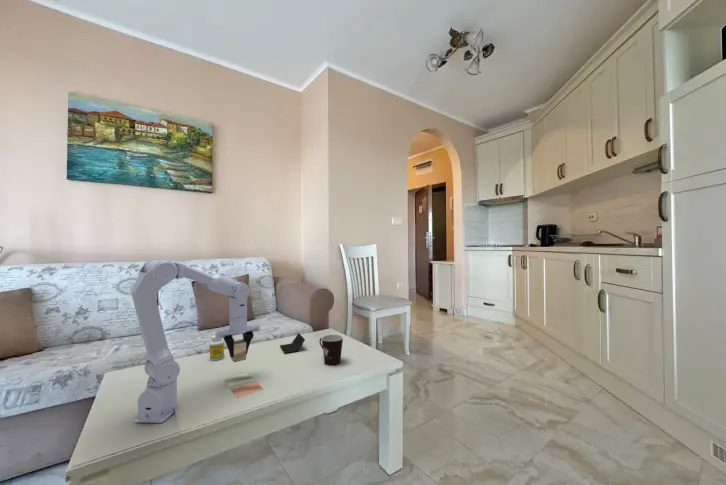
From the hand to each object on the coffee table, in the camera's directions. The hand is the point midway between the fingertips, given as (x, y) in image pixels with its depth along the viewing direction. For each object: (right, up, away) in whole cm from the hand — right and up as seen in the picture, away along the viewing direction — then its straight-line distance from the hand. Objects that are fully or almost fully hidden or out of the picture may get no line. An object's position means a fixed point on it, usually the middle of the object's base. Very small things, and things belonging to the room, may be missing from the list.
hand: (238, 355), depth 105 cm
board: (+3, -10, -4) cm, 11 cm away
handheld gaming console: (+11, -10, +33) cm, 36 cm away
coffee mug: (+31, -10, +19) cm, 37 cm away
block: (0, -1, 0) cm, 1 cm away
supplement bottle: (-18, -10, +22) cm, 30 cm away
